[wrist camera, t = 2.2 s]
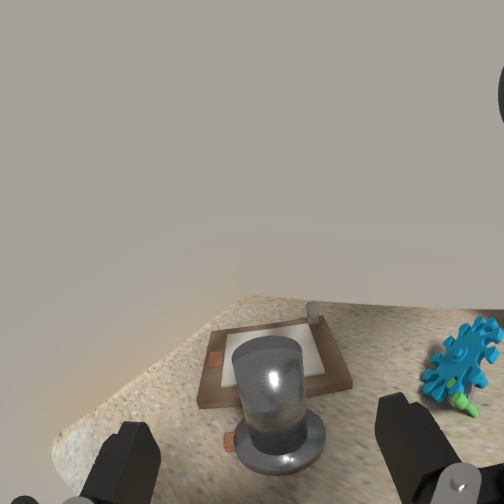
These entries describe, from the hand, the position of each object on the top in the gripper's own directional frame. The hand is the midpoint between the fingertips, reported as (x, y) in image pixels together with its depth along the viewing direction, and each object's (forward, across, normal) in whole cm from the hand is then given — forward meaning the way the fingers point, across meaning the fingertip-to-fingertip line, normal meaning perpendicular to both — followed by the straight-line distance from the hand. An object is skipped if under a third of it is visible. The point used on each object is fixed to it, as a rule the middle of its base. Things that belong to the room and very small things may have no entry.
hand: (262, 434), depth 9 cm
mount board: (+24, 0, +14) cm, 28 cm away
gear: (+12, -18, +14) cm, 26 cm away
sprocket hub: (+12, 0, +14) cm, 18 cm away
